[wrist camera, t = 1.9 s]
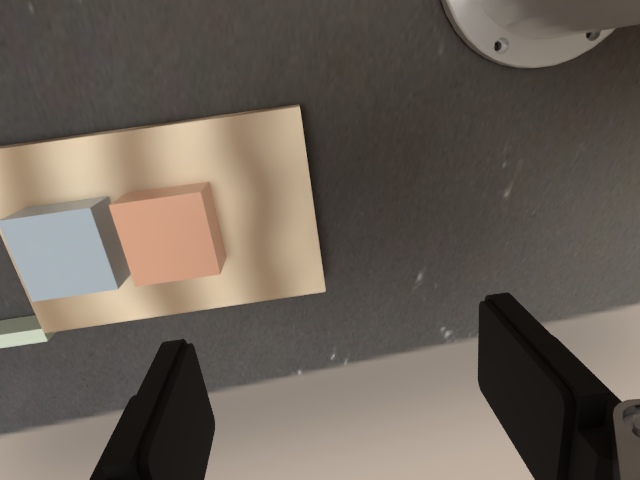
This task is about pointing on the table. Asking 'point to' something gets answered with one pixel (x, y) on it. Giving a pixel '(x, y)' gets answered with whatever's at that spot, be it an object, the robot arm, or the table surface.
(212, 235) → the terracotta tile
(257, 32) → the table surface
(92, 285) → the slate tile
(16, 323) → the u-shaped frame
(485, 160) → the table surface
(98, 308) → the wooden cutting board
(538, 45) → the robot arm
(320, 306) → the table surface
